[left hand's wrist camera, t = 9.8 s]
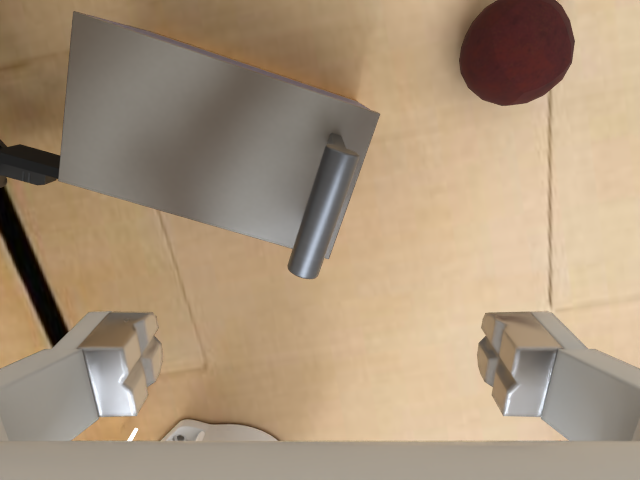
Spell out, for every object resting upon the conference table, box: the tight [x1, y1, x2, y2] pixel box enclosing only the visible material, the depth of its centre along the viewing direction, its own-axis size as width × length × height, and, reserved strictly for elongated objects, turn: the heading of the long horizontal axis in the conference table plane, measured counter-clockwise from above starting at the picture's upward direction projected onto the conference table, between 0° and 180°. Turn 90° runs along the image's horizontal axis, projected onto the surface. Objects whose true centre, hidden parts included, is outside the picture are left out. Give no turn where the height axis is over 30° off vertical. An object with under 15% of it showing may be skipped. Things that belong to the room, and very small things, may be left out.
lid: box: [58, 11, 380, 279], centre depth 22 cm, size 18×10×8 cm, turn 72°
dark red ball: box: [459, 0, 575, 106], centre depth 30 cm, size 7×8×7 cm
